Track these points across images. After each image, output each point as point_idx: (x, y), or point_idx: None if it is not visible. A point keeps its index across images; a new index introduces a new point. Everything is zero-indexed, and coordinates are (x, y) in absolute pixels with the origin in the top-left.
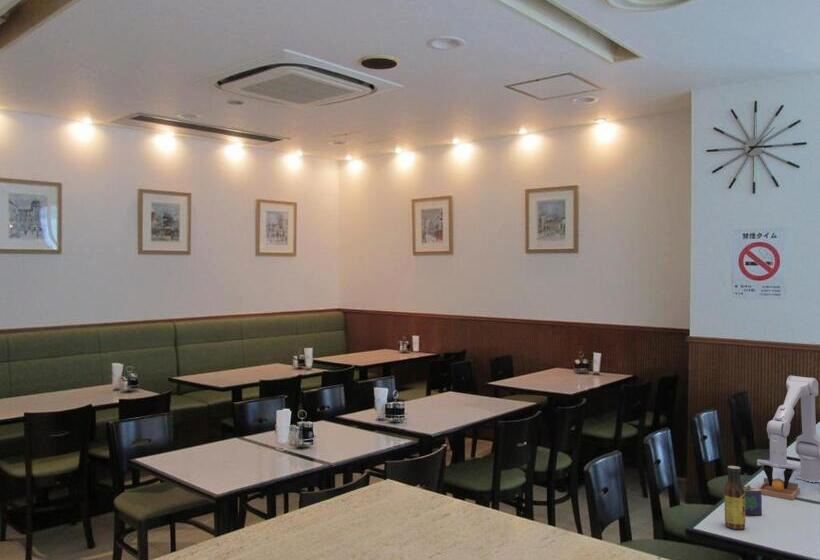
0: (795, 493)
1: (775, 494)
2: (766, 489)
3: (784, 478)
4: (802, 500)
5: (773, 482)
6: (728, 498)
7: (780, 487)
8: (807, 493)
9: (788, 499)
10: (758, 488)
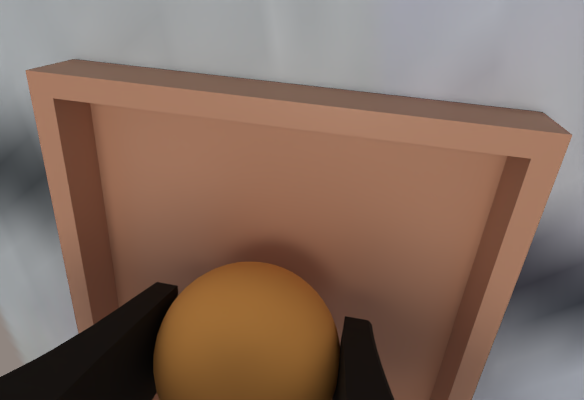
0: (66, 232)
1: (267, 92)
2: (411, 321)
3: (64, 390)
4: (7, 136)
5: (299, 341)
6: None
7: (211, 274)
8: None
9: (117, 65)
10: (537, 184)
